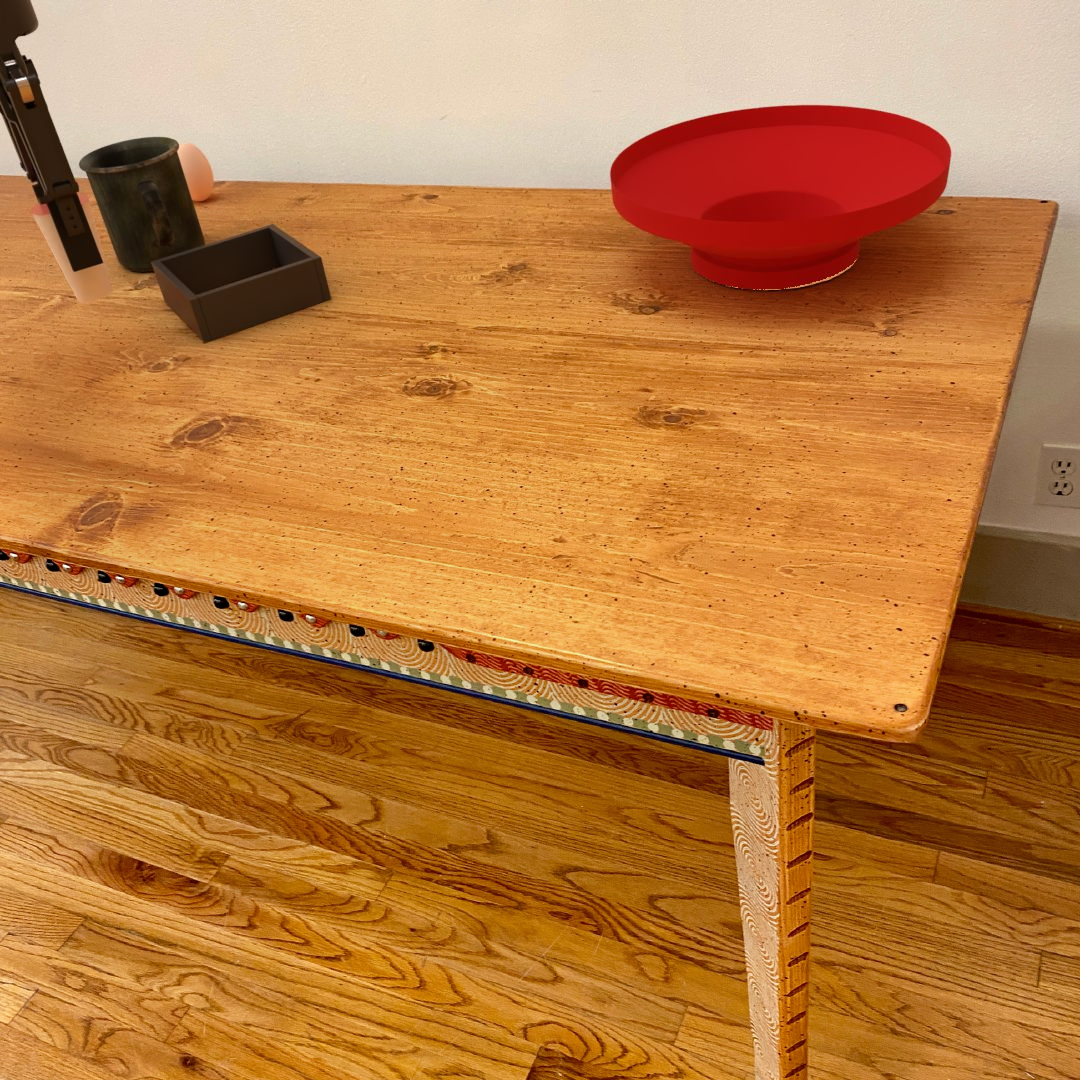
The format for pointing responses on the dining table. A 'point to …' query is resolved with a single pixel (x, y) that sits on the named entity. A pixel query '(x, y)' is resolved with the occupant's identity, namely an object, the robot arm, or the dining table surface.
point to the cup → (82, 282)
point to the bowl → (779, 188)
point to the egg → (196, 171)
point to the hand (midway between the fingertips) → (80, 257)
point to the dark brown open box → (241, 281)
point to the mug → (143, 200)
